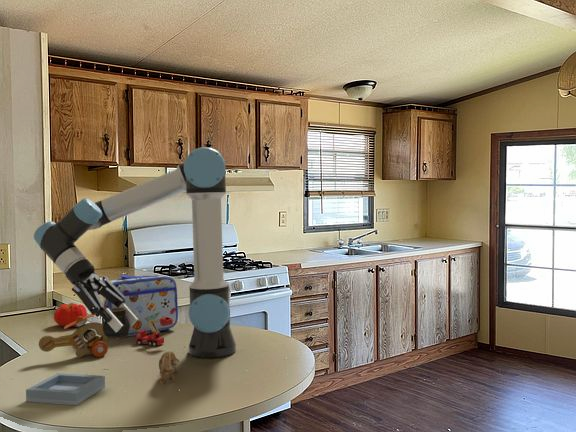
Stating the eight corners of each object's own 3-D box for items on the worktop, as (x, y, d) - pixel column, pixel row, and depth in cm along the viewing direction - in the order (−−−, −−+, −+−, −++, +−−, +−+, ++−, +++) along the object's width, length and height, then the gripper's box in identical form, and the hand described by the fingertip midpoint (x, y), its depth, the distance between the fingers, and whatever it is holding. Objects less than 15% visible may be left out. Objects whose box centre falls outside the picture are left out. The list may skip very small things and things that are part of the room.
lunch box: (106, 341, 195) (104, 279, 194) (99, 335, 204) (97, 275, 203) (180, 330, 209) (179, 272, 209) (171, 324, 218) (169, 269, 217)
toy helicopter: (111, 355, 178) (110, 312, 177) (41, 366, 167) (40, 321, 166) (105, 349, 184) (104, 308, 184) (37, 360, 173) (36, 316, 173)
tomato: (49, 326, 219) (48, 304, 219) (80, 320, 228) (79, 300, 228) (61, 331, 210) (60, 309, 210) (93, 325, 219) (92, 304, 218)
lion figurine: (180, 386, 148) (179, 352, 148) (159, 388, 147) (159, 354, 147) (176, 369, 162) (176, 339, 162) (158, 371, 161) (157, 340, 161)
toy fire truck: (140, 341, 194) (139, 314, 194) (173, 345, 189) (173, 316, 189) (134, 344, 191) (133, 316, 191) (167, 347, 186) (167, 319, 185)
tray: (105, 387, 148) (104, 375, 148) (76, 405, 135) (76, 393, 135) (58, 383, 151) (58, 373, 151) (26, 401, 138) (25, 389, 138)
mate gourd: (135, 334, 159) (133, 299, 159) (121, 341, 152) (120, 305, 151) (112, 333, 161) (111, 299, 160) (97, 340, 153) (96, 304, 153)
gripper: (90, 271, 169) (138, 326, 165) (44, 281, 151) (97, 344, 147) (104, 253, 168) (153, 309, 164) (59, 262, 149) (114, 325, 145)
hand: (127, 325), depth 155 cm, fingers closed on mate gourd, 7 cm apart
